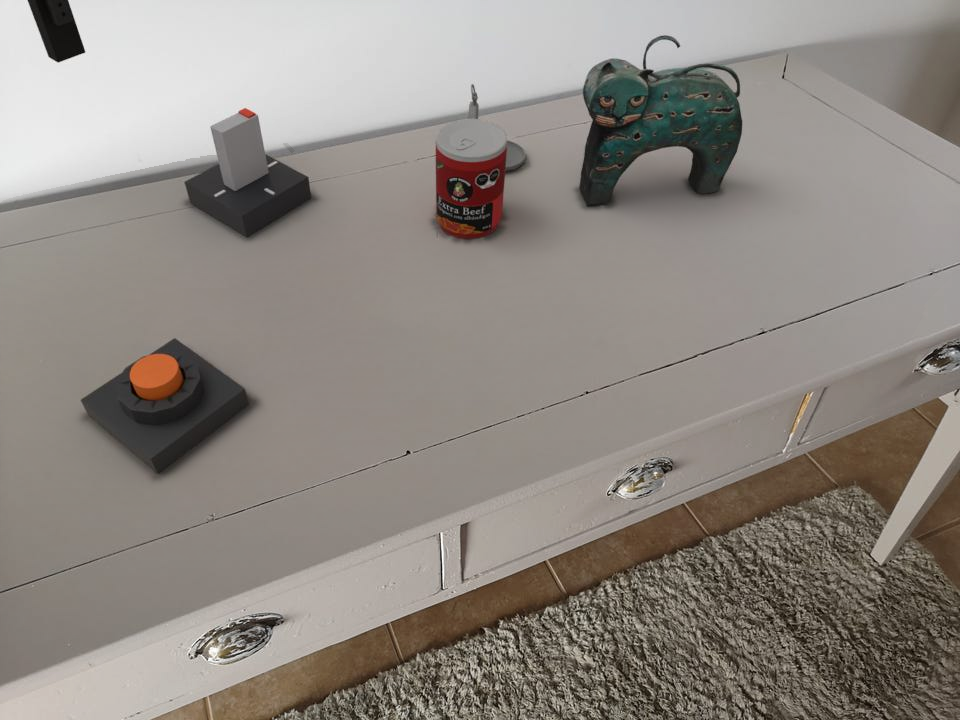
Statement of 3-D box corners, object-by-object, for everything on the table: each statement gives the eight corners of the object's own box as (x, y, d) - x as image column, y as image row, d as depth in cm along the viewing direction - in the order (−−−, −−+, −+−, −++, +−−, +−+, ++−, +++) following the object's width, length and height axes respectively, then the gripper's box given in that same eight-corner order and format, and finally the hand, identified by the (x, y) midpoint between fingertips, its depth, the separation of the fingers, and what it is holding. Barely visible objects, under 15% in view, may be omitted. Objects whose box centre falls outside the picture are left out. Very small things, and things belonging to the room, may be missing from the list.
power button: (125, 385, 68) (119, 372, 66) (164, 360, 70) (158, 346, 69) (154, 408, 66) (148, 395, 65) (192, 381, 68) (187, 368, 67)
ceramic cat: (575, 213, 93) (600, 51, 79) (561, 182, 98) (582, 23, 83) (729, 199, 96) (780, 41, 82) (708, 170, 101) (754, 14, 86)
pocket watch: (534, 165, 100) (542, 92, 93) (479, 183, 97) (482, 110, 89) (500, 135, 105) (504, 64, 97) (446, 151, 101) (446, 79, 94)
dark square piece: (88, 415, 70) (72, 386, 67) (180, 353, 75) (169, 324, 72) (157, 474, 66) (144, 445, 63) (249, 404, 71) (241, 375, 68)
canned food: (426, 231, 90) (424, 148, 82) (450, 194, 95) (451, 111, 87) (489, 247, 88) (494, 163, 80) (509, 208, 93) (516, 125, 85)
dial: (235, 191, 89) (221, 130, 83) (223, 184, 89) (209, 124, 84) (269, 172, 91) (257, 112, 86) (257, 166, 92) (245, 106, 86)
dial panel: (190, 203, 92) (183, 180, 89) (255, 167, 97) (251, 145, 95) (246, 237, 88) (241, 214, 85) (311, 198, 93) (308, 175, 91)
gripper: (54, -272, 52) (147, 65, 69) (-46, -302, 57) (64, 18, 74) (-60, -259, 48) (70, 95, 65) (-156, -293, 53) (-12, 44, 70)
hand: (67, 54), depth 70 cm, fingers closed
